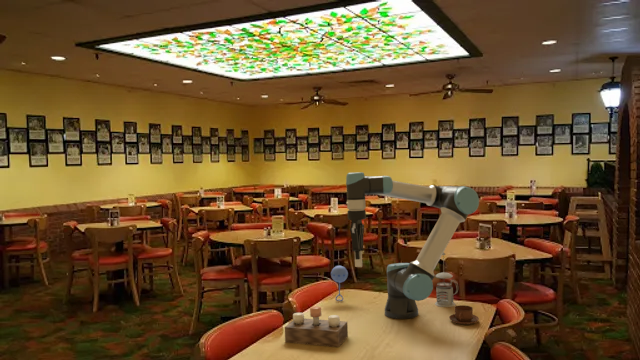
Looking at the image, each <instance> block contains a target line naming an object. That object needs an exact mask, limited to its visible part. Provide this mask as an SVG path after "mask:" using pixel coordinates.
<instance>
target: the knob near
mask: <svg viewBox="0 0 640 360" xmlns="http://www.w3.org/2000/svg"><path fill="white" fill-rule="evenodd" d="M327 320H328V324H329V326H331V327H337V326H338V325H340V321H341V320H340V315H337V314H331V315H329V316H328V319H327Z"/></svg>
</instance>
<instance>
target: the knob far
mask: <svg viewBox="0 0 640 360" xmlns="http://www.w3.org/2000/svg"><path fill="white" fill-rule="evenodd" d="M304 318H305V313H303V312H294V313H293V314H292V321H293V322H294V323H296V324H302V323H303V322H304Z"/></svg>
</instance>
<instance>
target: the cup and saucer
mask: <svg viewBox="0 0 640 360" xmlns="http://www.w3.org/2000/svg"><path fill="white" fill-rule="evenodd" d="M473 311H474V310H473V307H472V306H470V305H465V304H463V305H460V304H459V305H455V306H454V314H451V315H449V320H450V321H451V322H452V323H454V324H458V325H472V324H475V323H477V322H479V316H477V315H475V314H474V313H473Z"/></svg>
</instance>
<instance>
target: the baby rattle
mask: <svg viewBox="0 0 640 360" xmlns="http://www.w3.org/2000/svg"><path fill="white" fill-rule="evenodd" d="M330 276H331V279H332V280H333V281H334V282H335V283H338V294H337V295H336V296H335V298H334V299H335V301H337V302H342V301H344V296H343V295H341V283H344V282H345V281H346V280H347V278H348V276H349V272H348V270H347V268H346V267H345V266H342V265H335V266H334V267H333V268H332V269H331V271H330ZM338 297H341V298H340V299H337V298H338Z"/></svg>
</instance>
